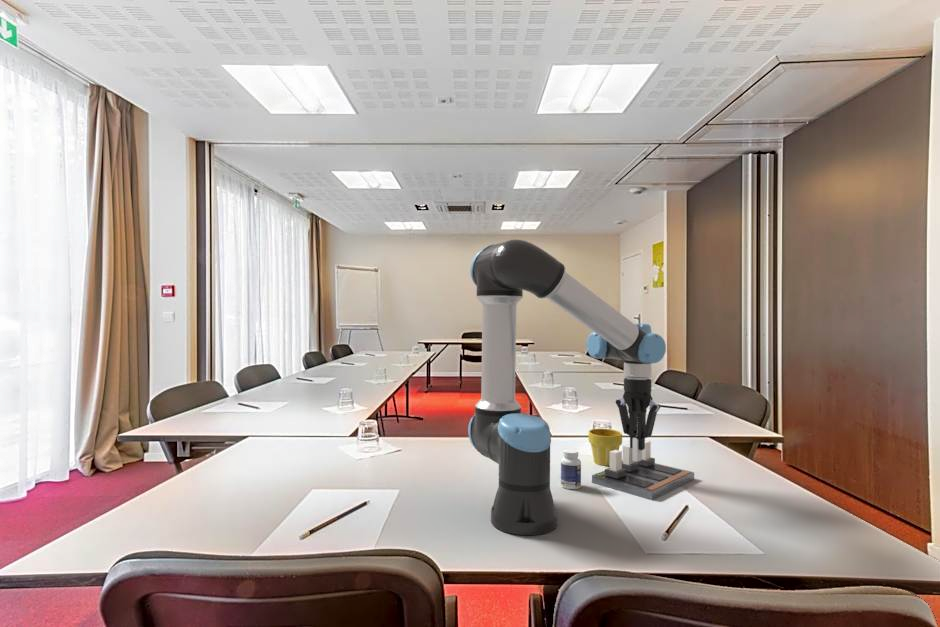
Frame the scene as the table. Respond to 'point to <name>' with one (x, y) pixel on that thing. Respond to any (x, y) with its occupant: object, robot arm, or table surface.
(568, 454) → the pill bottle
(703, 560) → the table surface
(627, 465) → the breaker mid
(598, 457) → the plant pot
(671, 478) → the panel
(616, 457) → the block
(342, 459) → the table surface
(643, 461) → the breaker right
